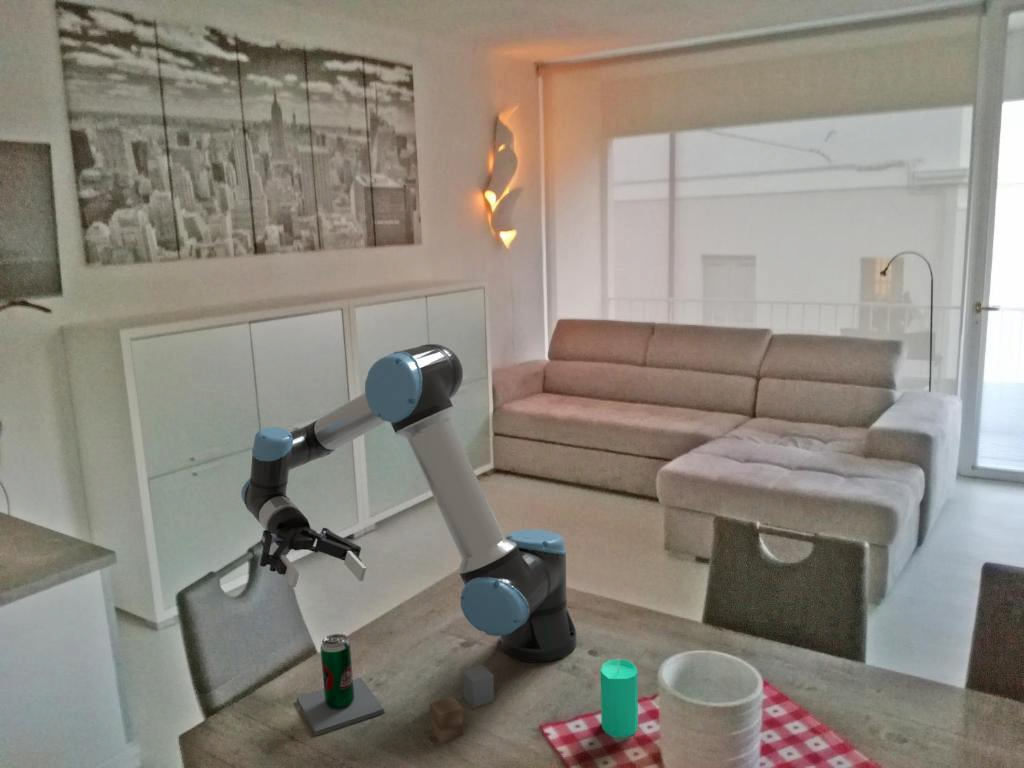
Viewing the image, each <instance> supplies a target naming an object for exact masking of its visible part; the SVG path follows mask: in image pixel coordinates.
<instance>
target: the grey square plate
mask: <svg viewBox="0 0 1024 768" xmlns="http://www.w3.org/2000/svg"><path fill="white" fill-rule="evenodd" d="M353 687H354V700H353V702H352V703H351V704H350V705H349V706H347V707H345V708H341V709H333V708H330V707H329V706H327V705H326V703H325V694H324V688H322V689H319V690H315V691H312V692H309V693H306V694H303V695H299V696H296V702H297V703H298V706H299V707H300V709H301V711H302V712H304V713H303V714H305V715H304V716H305V718H306V720H307V722H308V723H310V724H309V725H310V727H311V730H312V731H313V733H314V735H315V734H316V735H317V736H319V735H323V734H325V733H329V732H332V731H335V730H337V729H338V730H339V729H340V728H344V727H347V726H349V725H353V724H355V723H358V722H361V721H364V720H367V719H370V718H373V717H377V716H380V715H383V714H385V709H384V706H382V704H381V703H380V702H379V700H378V699H377V697H376V696H375V695H374V693H373V692H372V690H371V689H370V688H369V686H368V685H367V683H365V681H364V680H363V678H362V676H361V677H357V678H355V679H354V678H353ZM328 731H329V732H328ZM316 735H315V736H316Z"/></svg>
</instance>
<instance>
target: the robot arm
mask: <svg viewBox="0 0 1024 768" xmlns="http://www.w3.org/2000/svg"><path fill="white" fill-rule="evenodd" d="M463 373H464V370H463V365H462V363H461V361H460V359H459V357H458V356H457V354H455V352H454V351H452V350H451V349H450V348H448V347H447V346H444V345H442V344H438V343H428V344H427V343H426V344H423V345H420V346H416V347H413V348H408V349H404V350H398V351H395V352H393V353H392V352H391V353H389V354H387V355H385V356H383V357H381V358H379V359H377V360H376V361H375V362H374V363H373V364H372V365H371V367H370V368H369V370H368V372H367V377H366V379H365V382H364V393H362V394H360V395H359V396H357V397H355V398H354V399H352V400H350V401H348V402H347V403H345V404H343V405H341V406H339V407H337V408H335V409H334V410H333V411H331V412H328V413H327V414H326V415H323V416H322V417H320V418H318V419H317V420H315V421H313V422H311V423H309V424H307V425H306V426H303V427H300V428H298V429H296V430H292V431H289V430H287V429H286V428H285V429H284V428H281V427H275V426H271V427H264V428H261V429H259V430H258V431H257V432H256V433H255V435H254V441H253V446H252V449H251V452H252V453H251V454H252V457H251V466H250V469H251V470H250V476H249V477H250V478H248V479H247V480H246V482H245V484H244V485H243V486H242V488H241V492H240V494H241V496H240V497H241V501H242V502H243V503H244V505H245V507H246V508H247V511H248V512H249V513H250V514H252V516H253V517H254V518H255V519H256V520H257V522H258V523H259V524H260V525H261V527H262V528H263V530H262V531H263V532H262V536H261V539H260V544H261V546H262V551H261V556H260V561H259V566H260V567H264V568H265V567H267V565H269V571H270V572H273V573H275V572H277V574H279V575H282V576H283V577H284V579H285V580H286V581H287V582H288V584H289V585H290V587H291V588H295V587H296V588H297V584H298V579H299V576H300V573H299V571H298V570H297V568H296V567H295V566H294V565H293V564H292V562H291V561H290V560H289V558H288V557H287V555H288V554H289V553H290V552H291V551H292V550H294V551H301V550H304V551H305V550H307V551H310V552H313V553H323V554H325V555H328V556H330V557H333V558H336V559H339V560H341V561H344V565H345V566H346V568H347V569H348V570H349V571H350V572H351V573H352V574H353V575H354V576H355V578H356V579H357V580H358V581H359V582H361V581H362V582H363V581H364V578H365V575H366V571H367V567H366V566H365V564H364V563H362V559H361V558H360V555H361V551H362V547H361V546H360V545H358V544H355V543H354V542H351V541H349V540H347V539H346V538H344V537H341V536H340V535H338V534H336V533H334V532H332V531H331V530H330V529H329V528H327V527H322V529H321V531H316V530H314V529H313V528H311V525H310V522H309V520H308V518H307V517H306V516H305V515H304V514H303V513H302V512H301V510H300V509H299V508H298V506H296V504H294V502H293V501H292V500H291V499H290V498H289V497H288V496H287V488H288V487H287V486H288V481H289V472H290V471H291V470H293V469H295V468H296V469H297V468H298V467H300V466H301V467H302V466H303V465H305V464H307V463H310V462H312V461H315V460H318V459H321V458H324V457H326V456H329V455H330V454H332V453H333V452H335V451H336V450H337V449H338V448H340V447H342V446H344V445H346V444H348V443H350V442H352V441H354V440H356V439H358V438H359V437H362V436H363V435H365V434H367V433H369V432H370V431H373V430H374V429H376V428H379V427H380V426H382V425H384V424H386V423H390V424H391V427H392V429H393V431H394V433H395V435H397V436H399V437H402V438H405V439H406V440H407V442H408V444H409V446H410V448H411V451H412V453H413V454H414V455H413V456H414V457H415V459H416V462H417V464H418V466H419V468H420V470H421V472H422V474H423V477H424V478H425V481H426V483H427V486H428V488H429V490H430V492H431V494H432V495H433V496H432V497H433V498H434V500H435V503H436V505H437V507H438V509H439V511H440V513H441V515H442V518H443V521H444V522H445V526H446V527H447V529H448V531H449V533H450V536H451V538H452V540H453V542H454V544H455V547H456V549H457V551H458V553H459V555H460V558H461V561H460V563H459V566H458V574H459V575H460V578H461V581H462V583H463V585H464V586H463V587H462V589H461V593H460V594H461V596H460V598H459V604H460V607H461V611H462V614H463V616H464V617H465V618H466V620H467V621H468V622H469V624H470V625H471V626H473V627H474V629H476V630H477V631H480V632H483V633H485V634H486V635H489V636H493V637H494V636H495V637H500V646H501V649H502V651H503V652H504V653H505V654H506V655H508V656H509V657H511V658H513V659H515V660H519V661H522V662H523V661H524V662H529V663H530V662H531V663H545V662H552V661H556V660H559V659H562V658H564V657H566V656H568V655H570V654H571V653H573V651H574V650H575V648H577V631H576V627H575V624H574V621H573V619H572V617H571V614H570V612H569V611H570V610H569V608H568V605H567V604H568V603H567V551H566V544H565V539H564V538H563V536H561V534H558V533H557V532H554V531H550V530H544V529H535V528H533V529H520V530H519V529H518V530H515V531H512V532H509V533H508V534H507V535H506V536H504V534H503V531H502V529H501V528H500V525H499V522H498V521H497V519H496V517H495V514H494V512H493V510H492V507H491V505H490V504H489V501H488V499H487V496H486V495H485V492H484V490H483V488H482V486H481V484H480V482H479V479H478V478H477V475H476V473H475V471H474V468H473V467H472V464H471V462H470V459H469V457H468V456H467V453H466V451H465V448H464V446H463V444H462V442H461V440H460V438H459V436H458V433H457V432H456V428H455V427H454V425H453V423H452V421H451V417H452V414H453V411H454V405H453V403H452V400H451V398H453V397H454V396H455V395H456V394H457V393H458V392H459V389H460V388H461V385H462V383H463V376H464V374H463ZM315 542H316V544H315ZM274 543H275V544H276V545H277V548H276V549H275V551H274V552H273V554H270V551H271V546H272V544H274Z"/></svg>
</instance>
